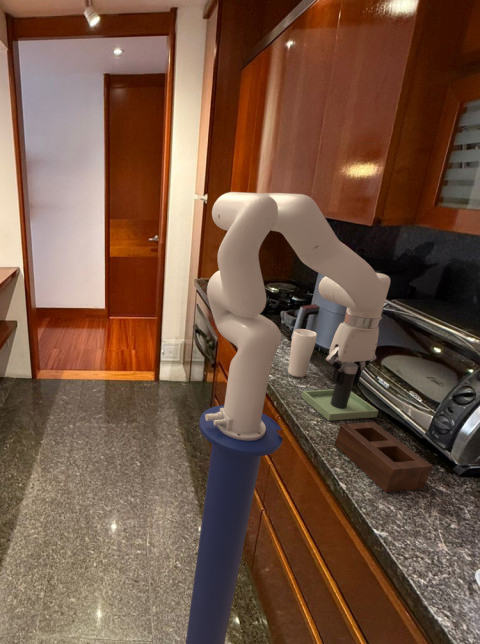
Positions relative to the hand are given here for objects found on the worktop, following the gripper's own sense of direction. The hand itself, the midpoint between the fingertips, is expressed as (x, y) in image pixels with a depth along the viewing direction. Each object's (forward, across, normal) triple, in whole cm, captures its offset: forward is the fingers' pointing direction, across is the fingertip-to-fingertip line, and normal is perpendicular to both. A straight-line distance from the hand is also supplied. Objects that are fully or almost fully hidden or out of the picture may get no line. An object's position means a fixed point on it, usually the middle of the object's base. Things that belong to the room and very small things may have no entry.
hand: (344, 381), depth 107 cm
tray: (+8, 0, 0) cm, 8 cm away
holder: (+8, +8, +24) cm, 26 cm away
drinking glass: (+9, 0, -20) cm, 22 cm away
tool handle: (+8, 0, 0) cm, 8 cm away
